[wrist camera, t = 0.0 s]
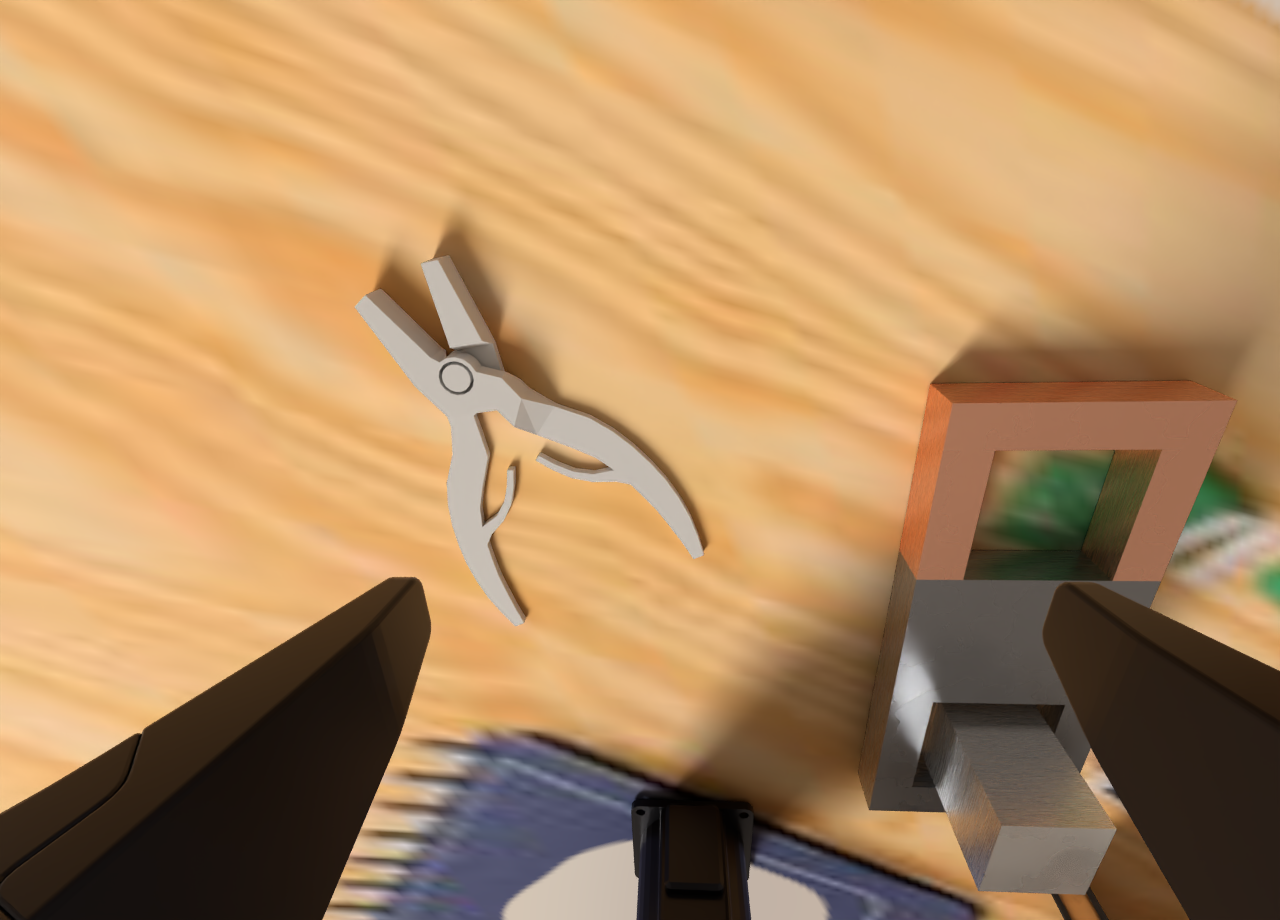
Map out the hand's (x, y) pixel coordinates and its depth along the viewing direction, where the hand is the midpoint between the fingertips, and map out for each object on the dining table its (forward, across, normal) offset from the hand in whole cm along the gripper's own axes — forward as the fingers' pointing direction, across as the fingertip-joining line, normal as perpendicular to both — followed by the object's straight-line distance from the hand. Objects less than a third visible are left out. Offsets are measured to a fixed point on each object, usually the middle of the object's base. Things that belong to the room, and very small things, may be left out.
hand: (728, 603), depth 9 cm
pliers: (+15, +7, +4) cm, 17 cm away
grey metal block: (+15, -13, +18) cm, 27 cm away
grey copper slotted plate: (+15, -13, +12) cm, 23 cm away
